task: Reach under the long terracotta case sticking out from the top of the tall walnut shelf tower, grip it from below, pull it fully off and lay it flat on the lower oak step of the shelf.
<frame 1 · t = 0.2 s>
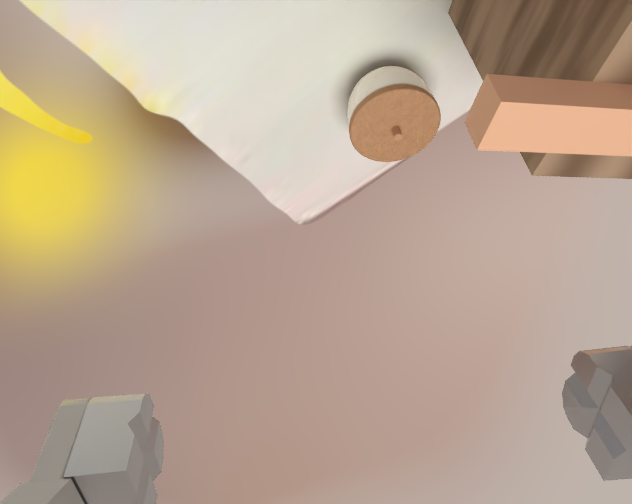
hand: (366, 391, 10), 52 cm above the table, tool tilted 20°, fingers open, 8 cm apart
lidded jar: (382, 87, 67), on the table
long slim case: (601, 106, 39), point 26 cm above the table, touching shelf unit
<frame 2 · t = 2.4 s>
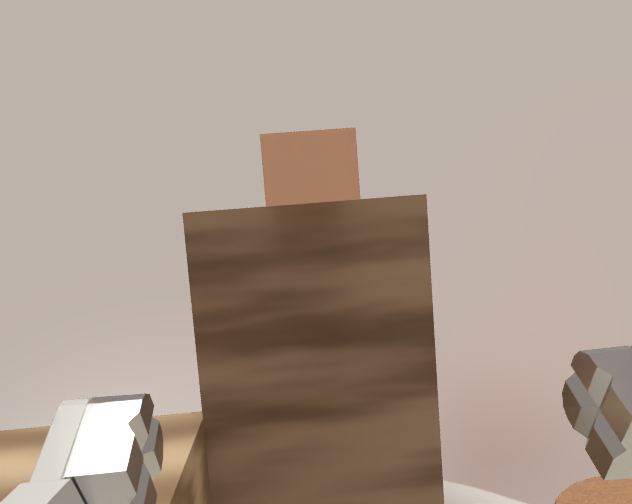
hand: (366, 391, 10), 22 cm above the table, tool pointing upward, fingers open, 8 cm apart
long slim case: (304, 203, 32), point 26 cm above the table, touching shelf unit
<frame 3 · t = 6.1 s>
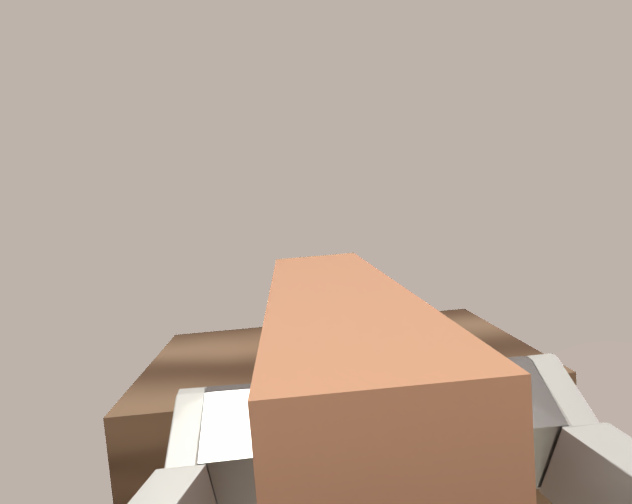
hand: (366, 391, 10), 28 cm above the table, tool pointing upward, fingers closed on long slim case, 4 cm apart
long slim case: (338, 373, 18), point 26 cm above the table, touching gripper, shelf unit
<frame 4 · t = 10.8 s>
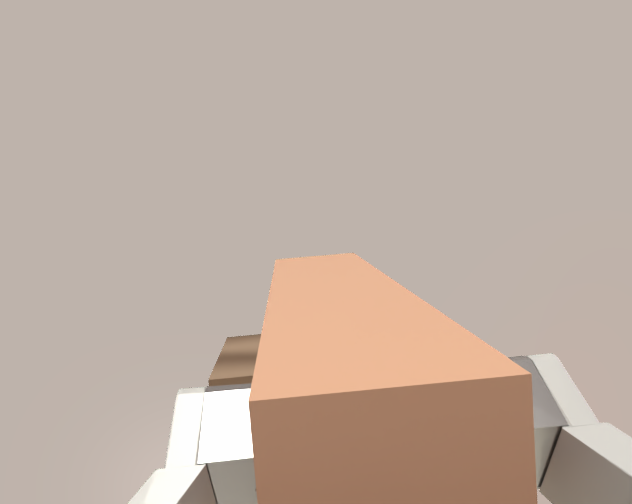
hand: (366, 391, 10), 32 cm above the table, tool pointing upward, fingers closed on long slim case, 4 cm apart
long slim case: (338, 373, 18), point 30 cm above the table, touching gripper
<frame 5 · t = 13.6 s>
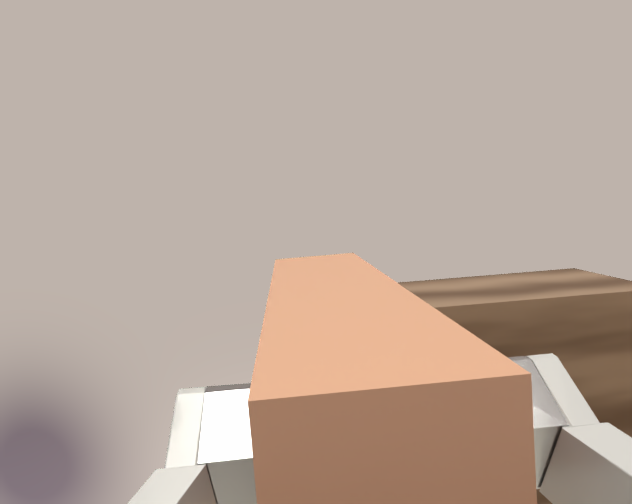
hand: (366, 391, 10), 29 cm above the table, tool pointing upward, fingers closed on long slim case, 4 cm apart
long slim case: (337, 373, 18), point 27 cm above the table, touching gripper
when the fingers open (20 cm above the table, at t = 15.8 s): long slim case drops 4 cm, resting on shelf unit.
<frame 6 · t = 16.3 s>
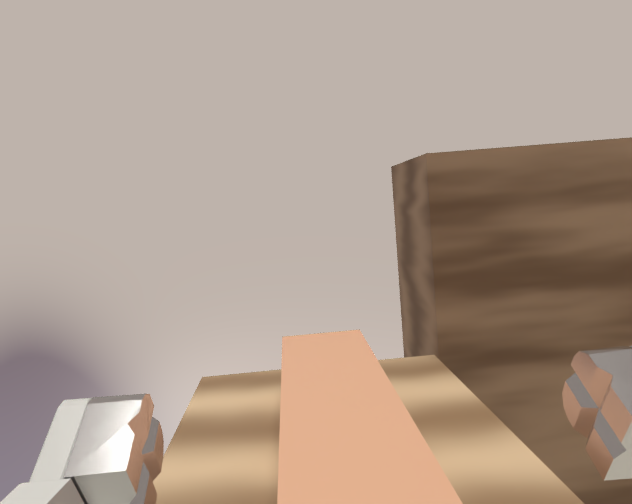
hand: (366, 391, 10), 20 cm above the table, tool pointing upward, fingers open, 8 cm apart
long slim case: (347, 491, 18), point 14 cm above the table, touching shelf unit
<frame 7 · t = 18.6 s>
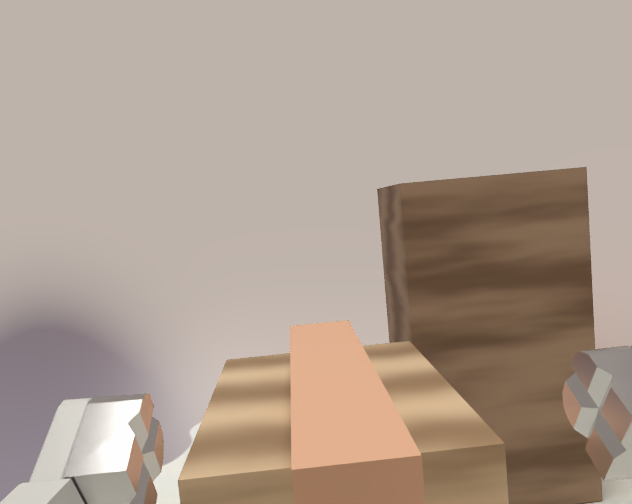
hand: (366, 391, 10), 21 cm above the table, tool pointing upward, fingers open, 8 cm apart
shelf unit: (490, 478, 46), on the table
long slim case: (336, 425, 26), point 14 cm above the table, touching shelf unit
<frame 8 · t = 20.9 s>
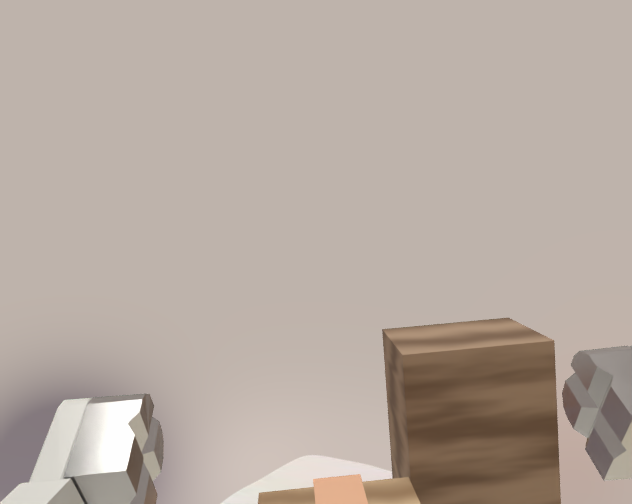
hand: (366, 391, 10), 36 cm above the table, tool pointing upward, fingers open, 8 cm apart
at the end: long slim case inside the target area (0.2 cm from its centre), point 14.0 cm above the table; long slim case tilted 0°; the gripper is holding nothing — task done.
